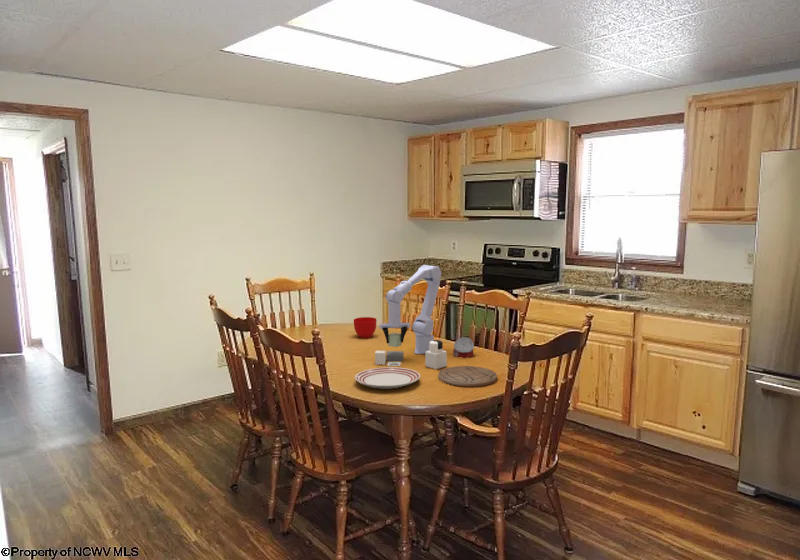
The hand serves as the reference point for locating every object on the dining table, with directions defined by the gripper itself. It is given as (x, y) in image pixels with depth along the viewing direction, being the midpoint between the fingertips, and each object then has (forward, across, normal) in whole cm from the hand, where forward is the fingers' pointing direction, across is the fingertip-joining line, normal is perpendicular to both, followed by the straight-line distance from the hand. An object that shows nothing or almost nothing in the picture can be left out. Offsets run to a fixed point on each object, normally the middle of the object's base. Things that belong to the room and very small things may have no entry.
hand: (394, 342), depth 267 cm
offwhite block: (+8, +8, +6) cm, 13 cm away
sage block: (+1, 0, 0) cm, 1 cm away
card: (+8, +2, +9) cm, 12 cm away
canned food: (+8, -34, +1) cm, 35 cm away
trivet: (+9, -26, +36) cm, 45 cm away
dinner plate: (+8, +9, +35) cm, 37 cm away
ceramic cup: (+8, +9, -50) cm, 51 cm away
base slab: (+8, 0, 0) cm, 8 cm away
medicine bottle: (+8, -16, +17) cm, 25 cm away
